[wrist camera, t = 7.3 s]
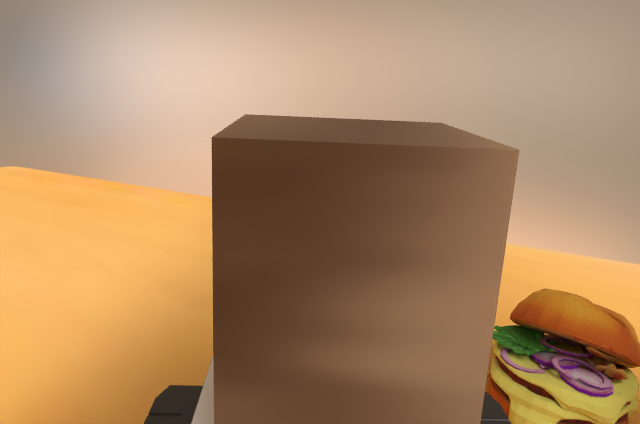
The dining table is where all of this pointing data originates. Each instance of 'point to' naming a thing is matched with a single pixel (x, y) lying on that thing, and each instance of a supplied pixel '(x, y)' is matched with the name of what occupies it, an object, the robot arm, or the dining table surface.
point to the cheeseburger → (565, 362)
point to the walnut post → (355, 270)
